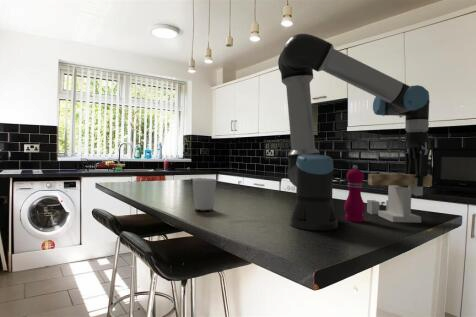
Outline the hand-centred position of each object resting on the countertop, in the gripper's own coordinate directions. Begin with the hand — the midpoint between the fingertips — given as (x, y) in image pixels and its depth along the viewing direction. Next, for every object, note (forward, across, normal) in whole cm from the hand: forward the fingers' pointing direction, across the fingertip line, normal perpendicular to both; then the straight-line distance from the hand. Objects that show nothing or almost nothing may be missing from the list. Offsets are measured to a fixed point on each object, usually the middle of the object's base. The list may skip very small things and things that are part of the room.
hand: (415, 194), depth 120 cm
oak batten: (-3, 0, +6) cm, 7 cm away
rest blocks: (+9, +11, +7) cm, 16 cm away
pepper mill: (+9, -4, +24) cm, 26 cm away
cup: (+9, +11, +80) cm, 81 cm away
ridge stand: (+9, 0, +6) cm, 11 cm away
